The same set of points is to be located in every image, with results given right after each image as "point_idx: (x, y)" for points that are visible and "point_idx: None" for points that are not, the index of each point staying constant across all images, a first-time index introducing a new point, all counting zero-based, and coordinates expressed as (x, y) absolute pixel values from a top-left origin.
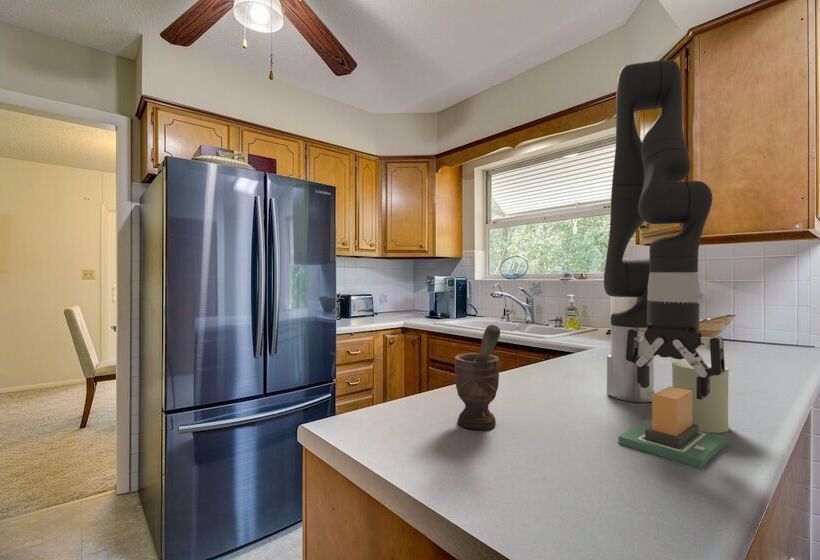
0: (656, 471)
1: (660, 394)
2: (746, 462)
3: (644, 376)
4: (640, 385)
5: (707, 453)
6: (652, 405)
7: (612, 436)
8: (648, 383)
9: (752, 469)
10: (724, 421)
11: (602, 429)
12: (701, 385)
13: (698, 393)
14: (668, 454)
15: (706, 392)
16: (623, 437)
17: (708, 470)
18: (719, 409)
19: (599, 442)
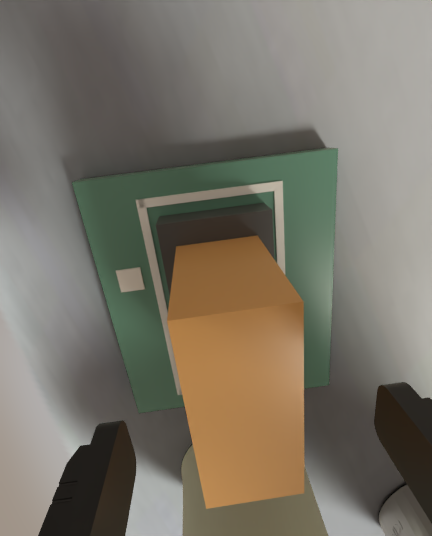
0: (134, 6)
1: (270, 337)
2: (52, 327)
3: (429, 441)
4: (409, 386)
5: (95, 256)
6: (281, 271)
7: (363, 192)
8: (384, 438)
9: (18, 294)
10: (183, 490)
11: (409, 223)
12: (71, 503)
13: (103, 445)
14: (170, 168)
15: (67, 471)
16: (320, 152)
17: (63, 182)
18: (188, 517)
19: (375, 93)
